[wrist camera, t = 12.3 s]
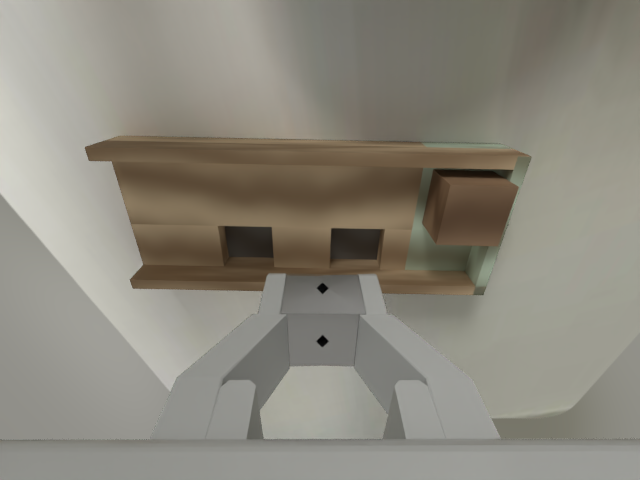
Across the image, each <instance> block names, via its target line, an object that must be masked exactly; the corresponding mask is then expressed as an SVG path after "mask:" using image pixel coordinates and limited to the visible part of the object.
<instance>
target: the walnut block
mask: <svg viewBox="0 0 640 480" xmlns="http://www.w3.org/2000/svg"><path fill="white" fill-rule="evenodd" d="M518 189H519V187H518V186H517V185H515V184H513V183H512V182H510V181H508V180H507V179H505V178H503V177H502V176H500V175H498V174H497V173H495V172H493V171H472V170H438V169H433V173H432V178H431V183H430V187H429V192H428V197H427V202H426V207H425V211H424V216H423V221H422V224H423V225H424V227H425V228H426V230H427V231H428V233H429V235H430V236H431V238H432V239H433V241H434V242H435V244H436V245H464V246H498V245H499V242H500V239H501V237H502V234H503V231H504V228H505V225H506V223H507V220H508V217H509V214H510V211H511V208H512V206H513V203H514V200H515V197H516V194H517V192H518Z"/></svg>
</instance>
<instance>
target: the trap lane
mask: <svg viewBox="0 0 640 480" xmlns="http://www.w3.org/2000/svg"><path fill="white" fill-rule="evenodd" d="M85 150H86V153H87V156H88V159H89V161H112V164H113V167H114V170H115V174H116V177H117V180H118V183H119V187H120V190H121V193H122V196H123V200H124V203H125V206H126V209H127V213H128V216H129V219H130V222H131V226H132V229H133V232H134V235H135V239H136V242H137V245H138V248H139V252H140V255H141V258H142V261H143V266H142V267H141V268H140V269H139V270H138V271H137V273H136V274H135V275H134V276H133V277H132V278H131V279H130V282H131V285H132V288H134V289H186V290H238V291H263V290H264V285H265V281H266V277H267V275H268V274H269V273H286V274H287V273H291V274H322V275H357V274H376V275H377V277H378V280H379V284H380V287H381V291H382V293H394V294H446V295H484V292H485V289H486V286H487V283H488V280H489V277H490V274H491V272H492V269H493V266H494V263H495V260H496V257H497V254H498V252H499V249H500V246H501V243H502V240H503V237H504V234H505V231H506V229H507V226H508V223H509V220H510V217H511V214H512V211H513V209H514V206H515V203H516V200H517V197H518V194H519V191H520V188H521V186H522V183H523V180H524V177H525V174H526V171H527V168H528V166H529V163H530V160H531V156H529V155H526V154H524V153H522V152H519V151H517V150H514V149H512V148H510V147H507V146H505V145H502V144H484V143H437V142H389V141H342V140H295V139H248V138H200V137H153V136H117V137H114V138H111V139H108V140H105V141H102V142H99V143H96V144H93V145H90V146H87V147H85ZM433 169H438V170H472V171H493V172H495V173H497V174H498V175H500V176H502V177H503V178H505V179H507V180H508V181H510V182H512V183H513V184H515V185H517V186H518V187H519V189H518V192H517V194H516V197H515V200H514V203H513V206H512V208H511V211H510V214H509V217H508V220H507V223H506V225H505V228H504V231H503V234H502V237H501V239H500V242H499V245H498V246H464V245H436V244H435V242H434V241H433V239H432V238H431V236H430V235H429V233H428V231H427V230H426V228H425V227H424V225H423V224H422V221H423V216H424V211H425V207H426V202H427V197H428V192H429V187H430V183H431V178H432V173H433Z"/></svg>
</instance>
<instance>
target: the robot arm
mask: <svg viewBox="0 0 640 480" xmlns="http://www.w3.org/2000/svg"><path fill="white" fill-rule="evenodd" d="M319 365H324V366H354V369H355V370H356V371H357V373H358V374H359V375H360V377H361V378H362V380H363V381H364V382H365V384H366V385H367V386H368V388H369V389H370V391H371V392H372V393H373V395H374V396H375V397H376V399H377V400H378V402H379V403H380V404H381V406H382V407H383V408H384V410H385V411H386V413H387V414H388V417H387V422H386V426H385V431H384V435H383V439H263V432H262V425H261V418H260V409H261V408H262V406H263V405H264V404H265V402H266V401H267V399H268V398H269V397H270V395H271V394H272V392H273V391H274V390H275V388H276V387H277V385H278V384H279V383H280V381H281V380H282V378H283V377H284V375H285V374H286V373H287V371H288V370H289V368H290V366H319ZM0 480H640V439H501V438H500V436H499V434H498V432H497V430H496V428H495V426H494V424H493V422H492V419H491V417H490V415H489V413H488V411H487V409H486V407H485V405H484V403H483V401H482V399H481V397H480V395H479V392H478V390H477V388H476V386H475V384H474V382H473V380H472V379H471V378H470V377H469V376H468V375H467V374H465V373H464V372H463V371H462V370H460V369H459V368H458V367H457V366H456V365H454V364H453V363H452V362H451V361H449V360H448V359H447V358H446V357H445V356H443V355H442V354H441V353H440V352H438V351H437V350H436V349H435V348H434V347H432V346H431V345H430V344H429V343H428V342H426V341H425V340H424V339H423V338H421V337H420V336H419V335H418V334H417V333H415V332H414V331H413V330H412V329H410V328H409V327H408V326H407V325H406V324H404V323H403V322H402V321H401V320H400V319H398V318H397V317H396V316H395V315H388V312H387V309H386V305H385V302H384V298H383V294H382V291H381V287H380V284H379V280H378V277H377V275H376V274H357V275H322V274H291V273H287V274H286V273H269V274H268V275H267V277H266V281H265V285H264V290H263V294H262V298H261V303H260V307H259V311H258V314H252V315H251V316H249V317H248V318H247V319H246V320H245V321H244V322H242V323H241V324H240V325H239V326H238V327H236V328H235V329H234V330H233V331H232V332H231V333H229V334H228V335H227V336H226V337H225V338H223V339H222V340H221V341H220V342H219V343H217V344H216V345H215V346H214V347H213V348H212V349H210V350H209V351H208V352H207V353H206V354H204V355H203V356H202V357H201V358H200V359H199V360H197V361H196V362H195V363H194V364H193V365H191V366H190V367H189V368H188V369H187V370H185V371H184V372H183V373H182V374H181V375H180V376H178V377H177V378H176V381H175V383H174V385H173V387H172V390H171V392H170V394H169V397H168V399H167V401H166V403H165V405H164V408H163V410H162V412H161V415H160V417H159V419H158V421H157V424H156V426H155V428H154V430H153V433H152V435H151V437H150V439H148V440H147V439H146V440H145V439H144V440H143V439H139V440H138V439H135V440H134V439H126V440H125V439H120V440H119V439H115V440H114V439H111V440H110V439H107V440H105V439H102V440H101V439H97V440H95V439H94V440H93V439H92V440H90V439H88V440H87V439H85V440H84V439H76V440H75V439H71V440H0Z"/></svg>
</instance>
